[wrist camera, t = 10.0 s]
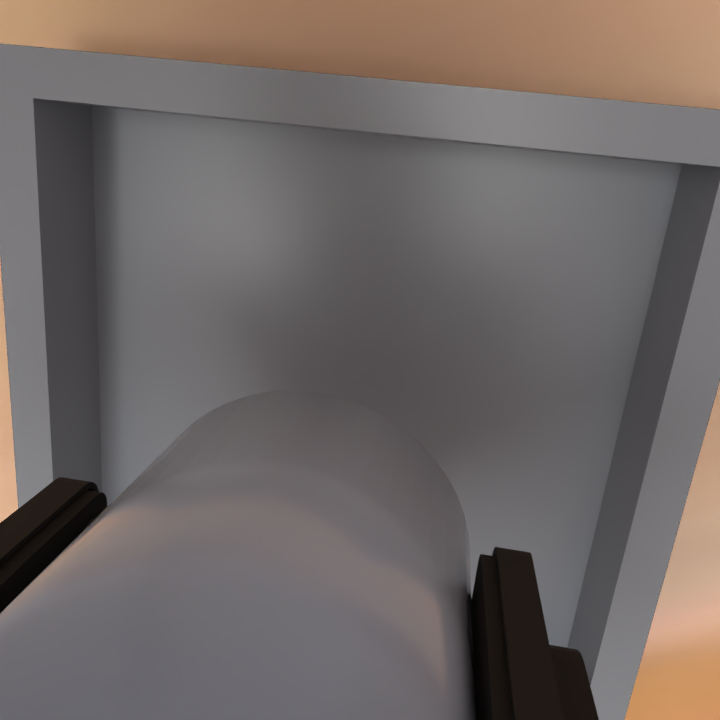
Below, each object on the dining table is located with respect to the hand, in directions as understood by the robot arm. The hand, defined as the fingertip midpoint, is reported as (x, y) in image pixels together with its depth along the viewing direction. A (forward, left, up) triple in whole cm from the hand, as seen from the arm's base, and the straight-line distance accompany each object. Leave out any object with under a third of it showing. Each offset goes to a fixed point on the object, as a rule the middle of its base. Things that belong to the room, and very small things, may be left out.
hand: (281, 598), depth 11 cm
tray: (0, 0, -8) cm, 8 cm away
